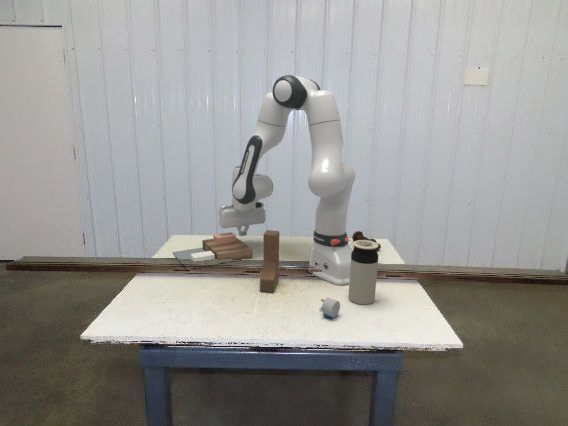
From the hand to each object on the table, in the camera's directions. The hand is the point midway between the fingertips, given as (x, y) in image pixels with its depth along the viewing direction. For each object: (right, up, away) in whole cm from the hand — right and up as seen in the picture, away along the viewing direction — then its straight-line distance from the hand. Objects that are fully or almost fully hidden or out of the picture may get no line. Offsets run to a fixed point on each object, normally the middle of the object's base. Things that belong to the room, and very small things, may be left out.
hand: (242, 235), depth 157 cm
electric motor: (+30, -19, -54) cm, 64 cm away
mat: (-17, -8, -14) cm, 24 cm away
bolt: (+54, -6, +5) cm, 55 cm away
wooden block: (+13, -15, -36) cm, 41 cm away
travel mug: (+42, -17, -44) cm, 63 cm away
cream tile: (-13, -9, -17) cm, 23 cm away
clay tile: (-7, -2, -4) cm, 8 cm away
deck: (-6, -7, -7) cm, 12 cm away
